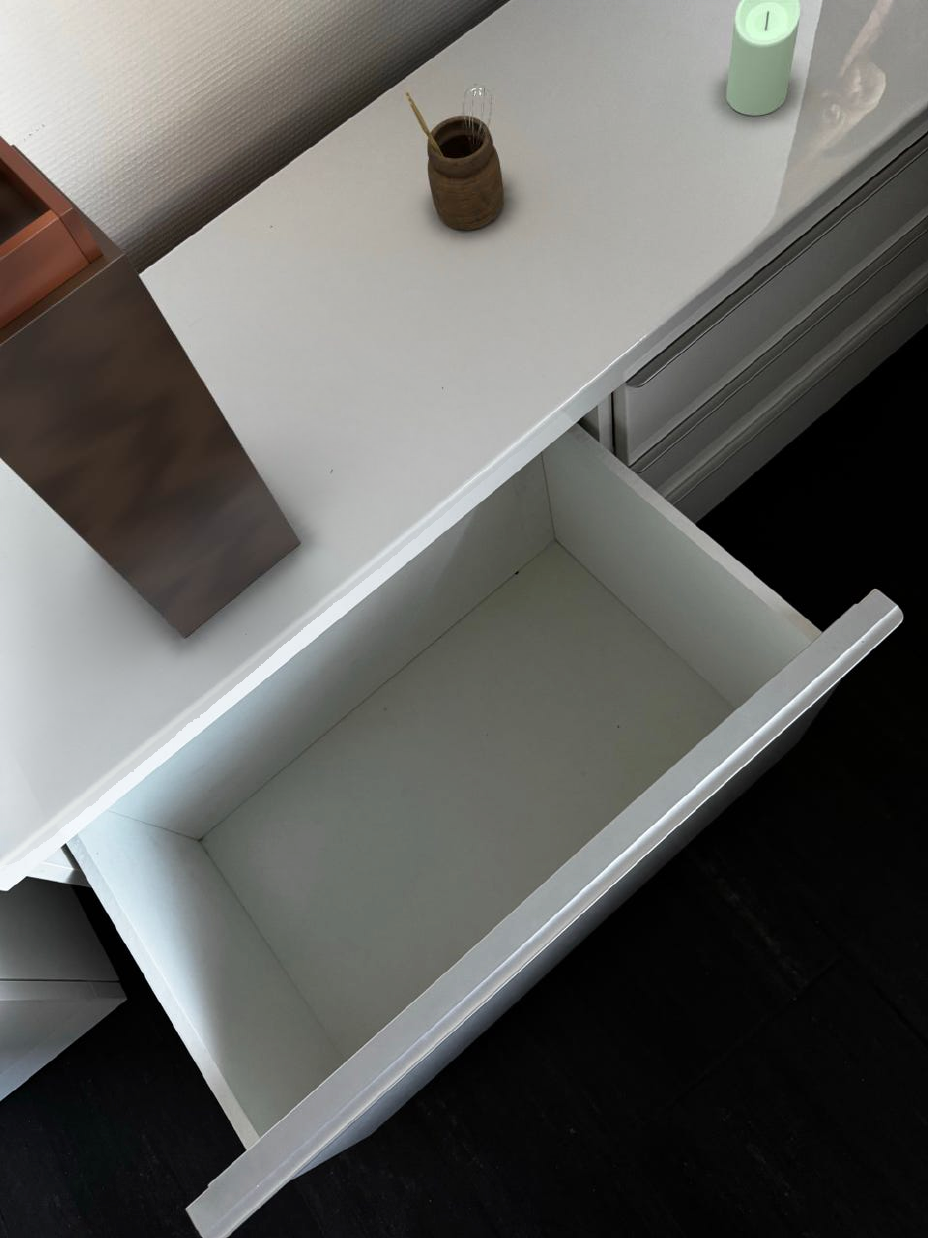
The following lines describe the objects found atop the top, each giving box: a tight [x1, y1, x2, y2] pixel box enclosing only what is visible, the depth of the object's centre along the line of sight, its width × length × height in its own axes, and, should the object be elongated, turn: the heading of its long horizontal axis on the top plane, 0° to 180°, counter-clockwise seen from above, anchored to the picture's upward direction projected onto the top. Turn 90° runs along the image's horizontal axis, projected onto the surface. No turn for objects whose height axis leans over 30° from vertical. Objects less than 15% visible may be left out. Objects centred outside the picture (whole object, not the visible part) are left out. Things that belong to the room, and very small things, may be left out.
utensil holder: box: [404, 83, 504, 231], centre depth 82 cm, size 6×6×12 cm
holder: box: [0, 135, 302, 639], centre depth 63 cm, size 11×11×33 cm
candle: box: [725, 0, 802, 117], centre depth 84 cm, size 5×5×8 cm
